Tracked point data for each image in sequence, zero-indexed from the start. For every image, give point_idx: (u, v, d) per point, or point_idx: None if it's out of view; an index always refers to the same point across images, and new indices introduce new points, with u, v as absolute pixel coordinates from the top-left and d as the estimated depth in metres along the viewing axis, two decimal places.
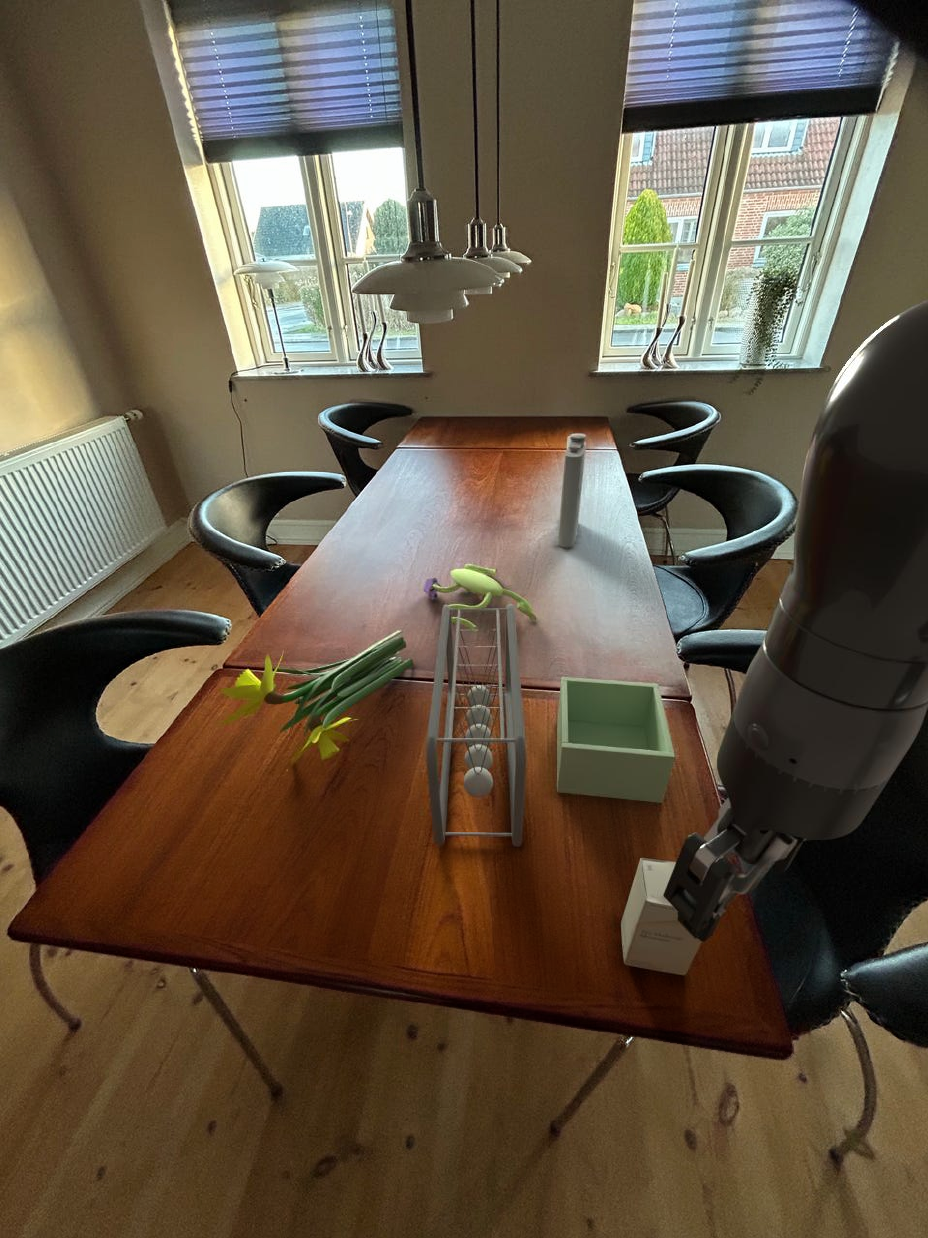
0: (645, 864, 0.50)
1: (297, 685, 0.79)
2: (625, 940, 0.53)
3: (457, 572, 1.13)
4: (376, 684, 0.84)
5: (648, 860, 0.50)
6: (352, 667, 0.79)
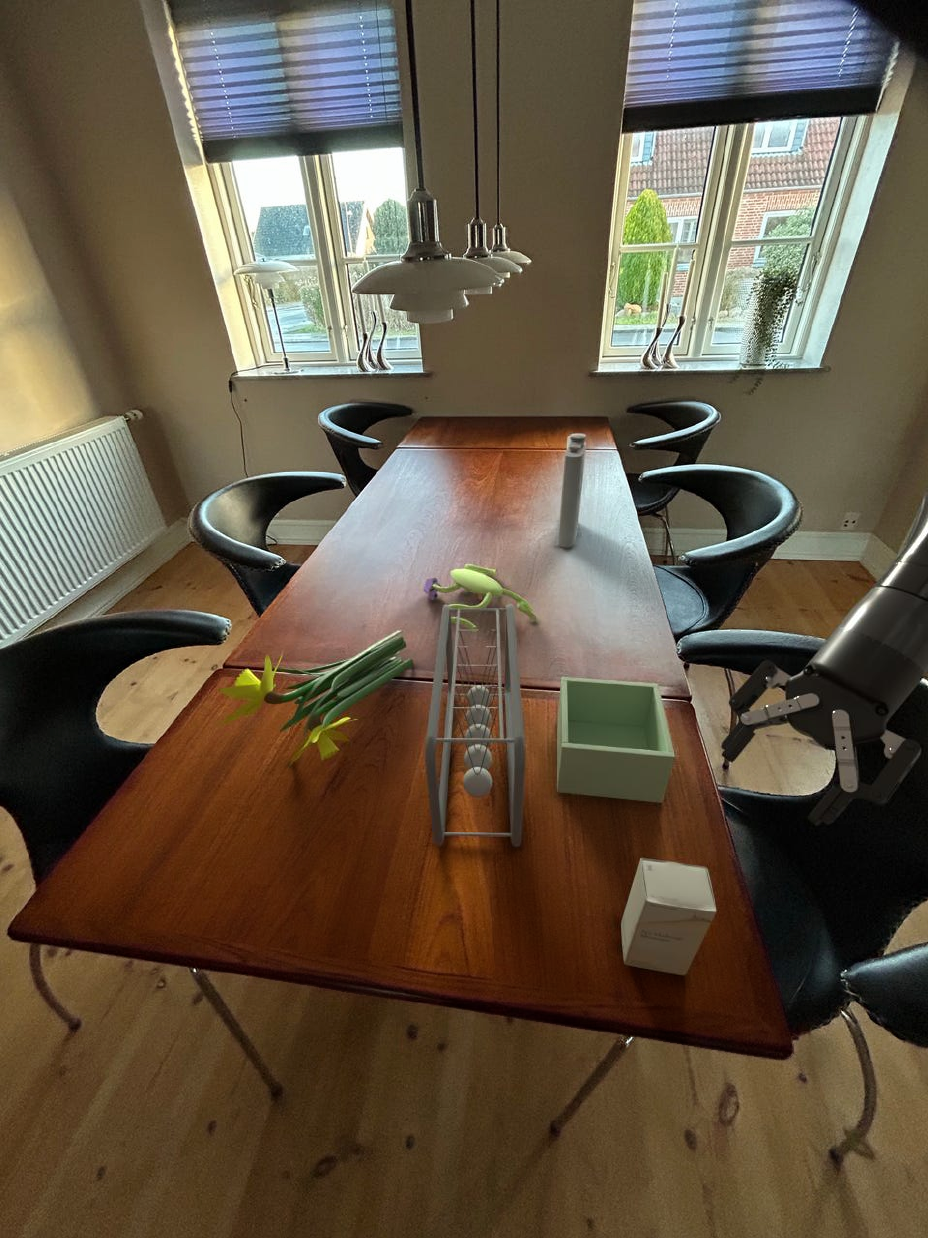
0: (645, 864, 0.50)
1: (297, 685, 0.79)
2: (625, 940, 0.53)
3: (457, 572, 1.13)
4: (376, 684, 0.84)
5: (648, 860, 0.50)
6: (352, 667, 0.79)
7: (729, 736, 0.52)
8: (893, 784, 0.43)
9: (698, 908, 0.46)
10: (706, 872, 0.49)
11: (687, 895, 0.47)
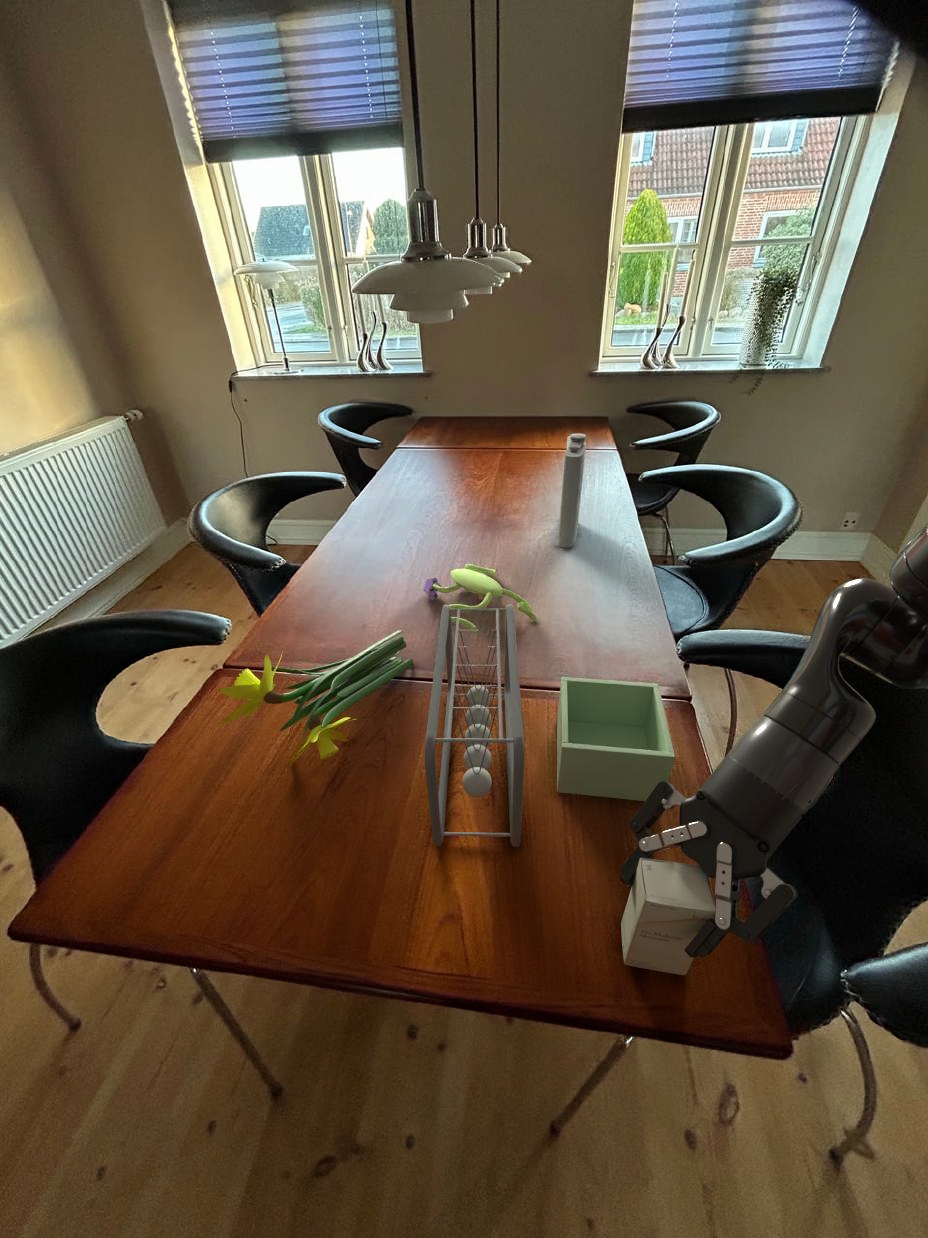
0: (644, 864, 0.50)
1: (297, 685, 0.79)
2: (625, 940, 0.53)
3: (457, 572, 1.13)
4: (376, 684, 0.84)
5: (648, 860, 0.50)
6: (352, 667, 0.79)
7: (628, 860, 0.52)
8: (762, 928, 0.43)
9: (697, 908, 0.46)
10: None
11: (687, 895, 0.47)
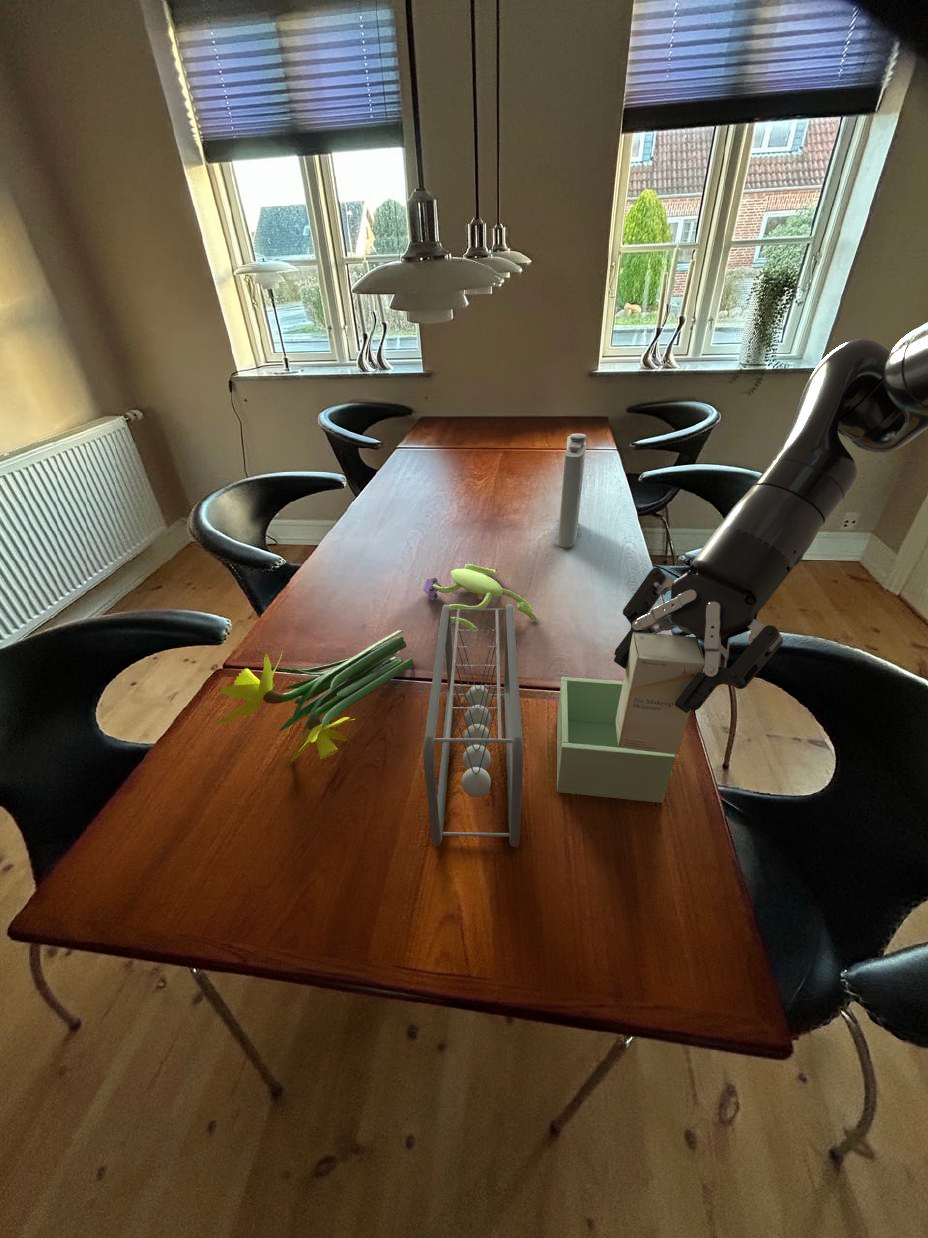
0: (637, 635, 0.52)
1: (296, 684, 0.79)
2: (619, 724, 0.55)
3: (457, 572, 1.13)
4: (375, 684, 0.84)
5: (640, 633, 0.52)
6: (351, 667, 0.79)
7: (622, 643, 0.54)
8: (748, 666, 0.45)
9: (687, 662, 0.48)
10: (696, 640, 0.51)
11: (677, 654, 0.49)
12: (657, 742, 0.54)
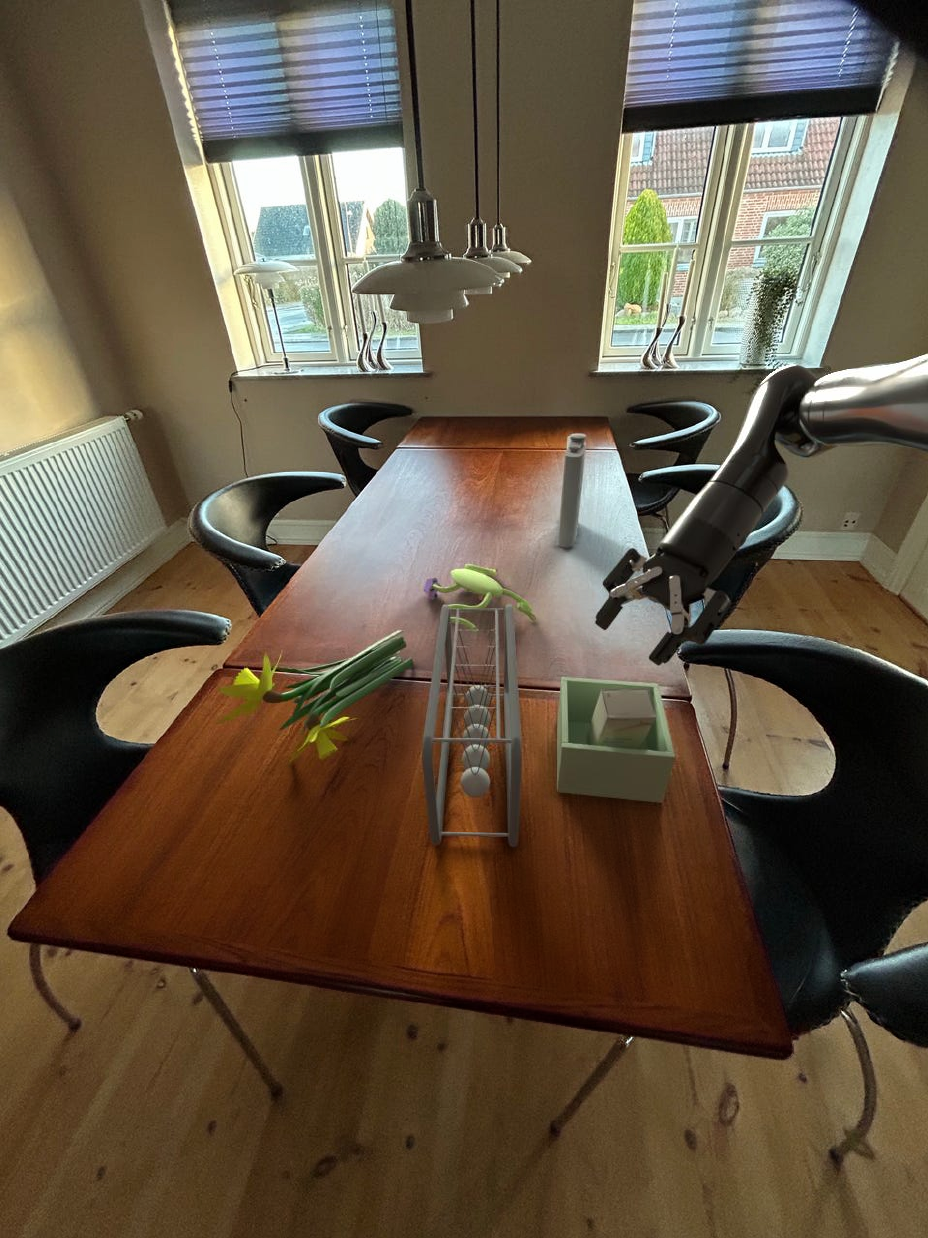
0: (605, 693, 0.67)
1: (296, 684, 0.79)
2: None
3: (457, 572, 1.13)
4: (375, 684, 0.84)
5: (607, 690, 0.67)
6: (351, 666, 0.79)
7: (601, 608, 0.66)
8: (705, 623, 0.57)
9: (643, 716, 0.65)
10: (648, 692, 0.67)
11: (636, 709, 0.65)
12: None
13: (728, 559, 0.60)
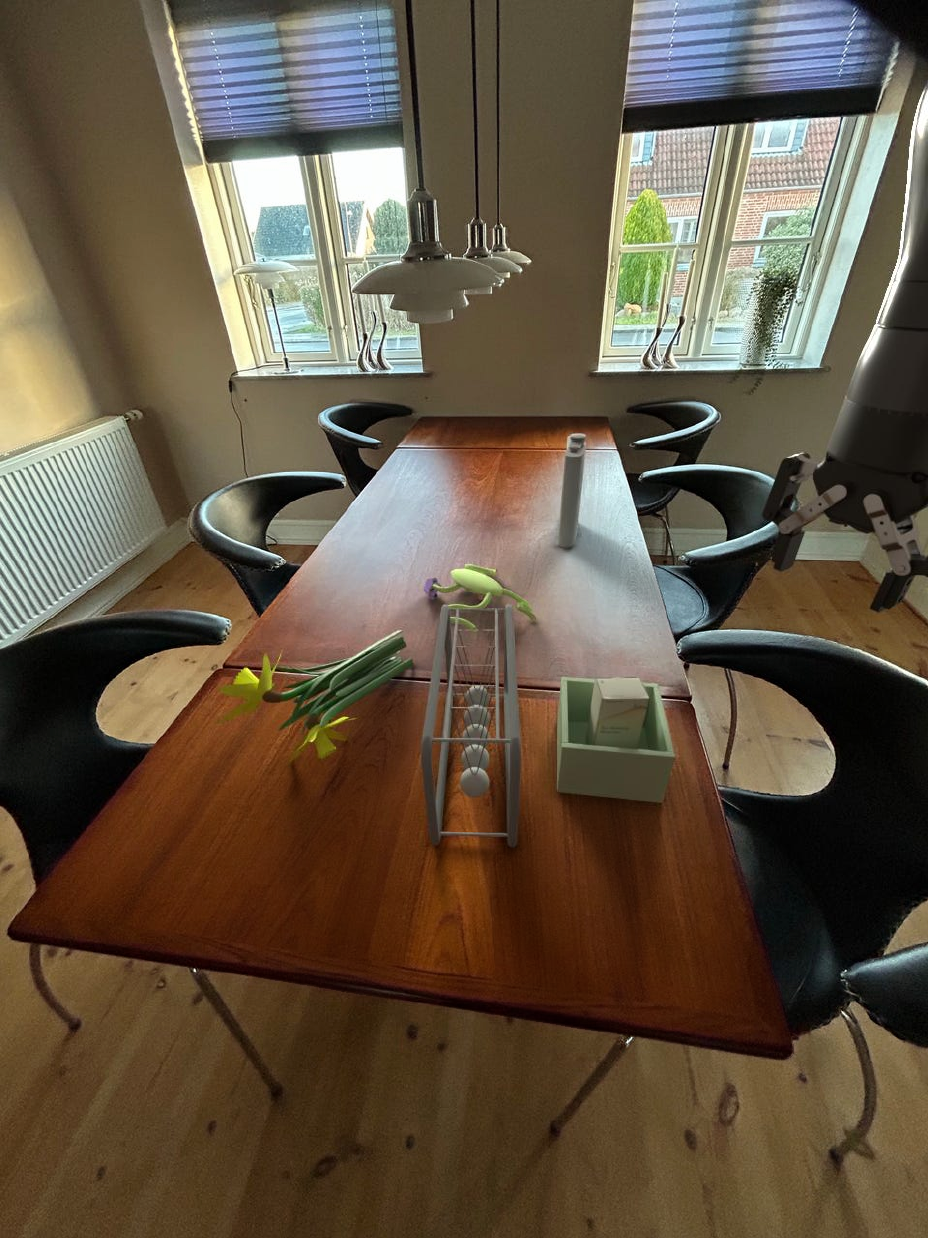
0: (599, 680, 0.70)
1: (296, 684, 0.79)
2: None
3: (457, 572, 1.13)
4: (375, 684, 0.84)
5: (600, 678, 0.70)
6: (351, 666, 0.79)
7: (775, 548, 0.50)
8: None
9: (636, 698, 0.67)
10: (640, 679, 0.70)
11: (629, 692, 0.68)
12: None
13: None
